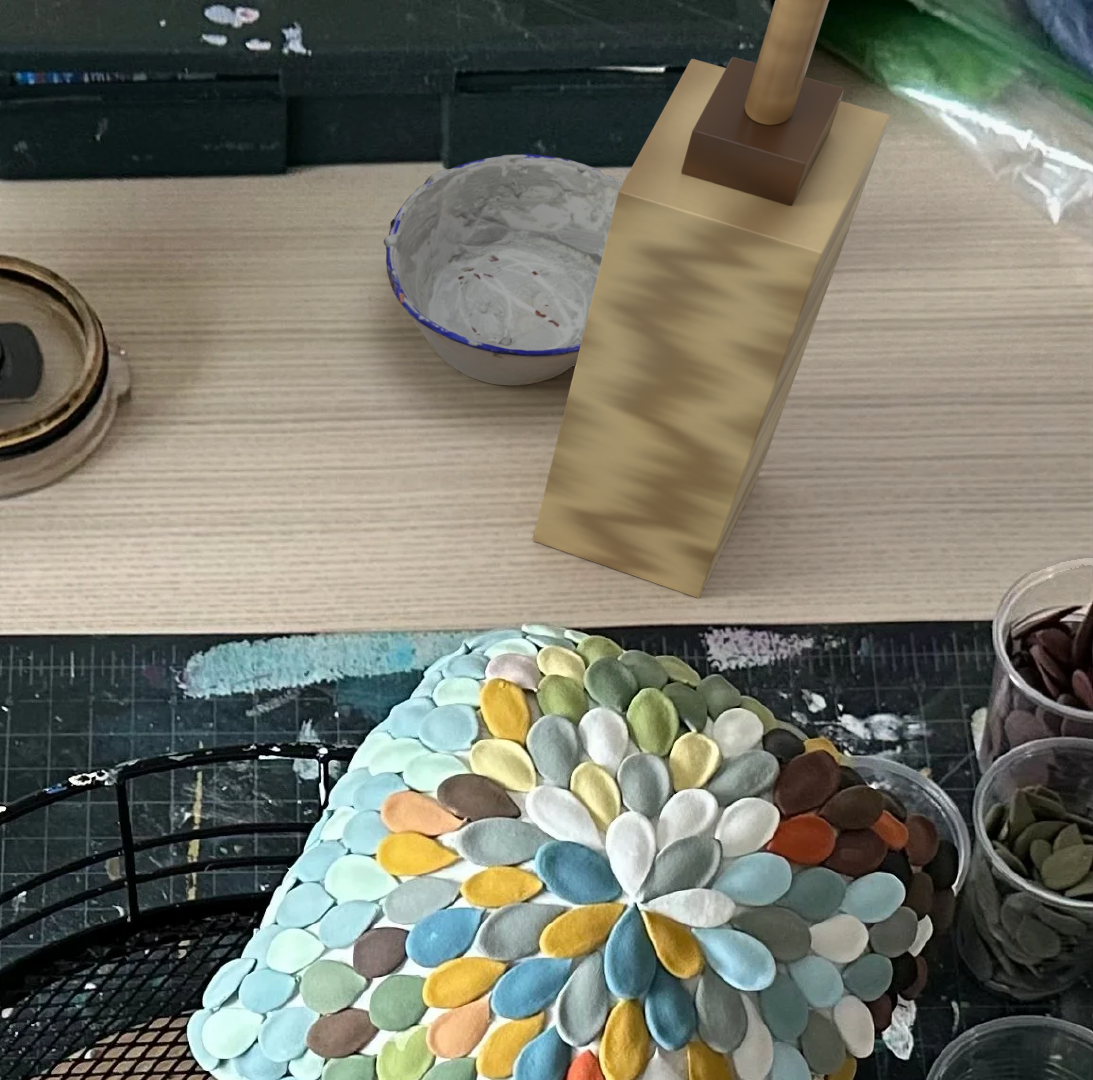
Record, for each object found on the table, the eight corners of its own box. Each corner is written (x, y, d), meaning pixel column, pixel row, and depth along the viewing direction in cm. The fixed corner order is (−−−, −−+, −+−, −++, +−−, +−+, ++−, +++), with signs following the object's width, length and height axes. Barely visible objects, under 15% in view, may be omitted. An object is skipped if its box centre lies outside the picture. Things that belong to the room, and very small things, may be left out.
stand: (759, 474, 106) (891, 114, 88) (699, 599, 103) (822, 253, 85) (595, 420, 108) (691, 57, 90) (532, 541, 105) (618, 191, 87)
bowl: (407, 444, 108) (419, 368, 104) (350, 250, 114) (360, 171, 110) (677, 403, 108) (700, 325, 104) (607, 211, 114) (626, 130, 110)
